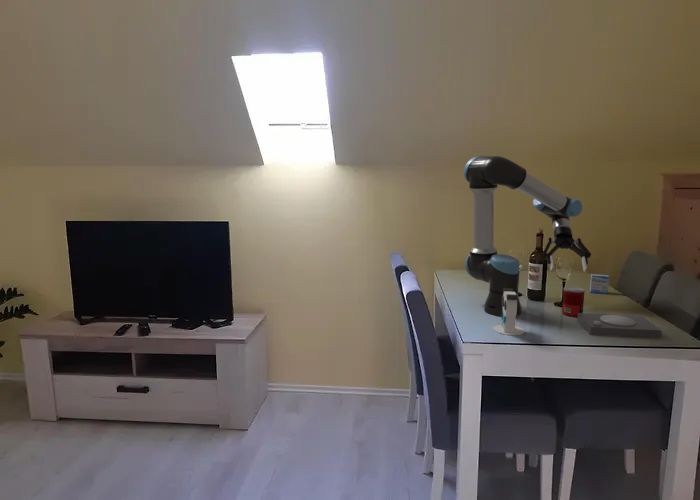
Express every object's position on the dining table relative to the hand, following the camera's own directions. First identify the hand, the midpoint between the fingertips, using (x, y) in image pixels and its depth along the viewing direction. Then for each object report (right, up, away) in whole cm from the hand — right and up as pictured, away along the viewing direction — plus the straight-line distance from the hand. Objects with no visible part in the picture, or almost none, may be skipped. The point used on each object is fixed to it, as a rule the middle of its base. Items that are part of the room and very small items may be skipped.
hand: (568, 270), depth 227 cm
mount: (+7, -21, -27) cm, 35 cm away
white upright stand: (-35, -22, -29) cm, 50 cm away
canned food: (-2, -18, -9) cm, 20 cm away
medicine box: (+26, -12, +27) cm, 39 cm away
